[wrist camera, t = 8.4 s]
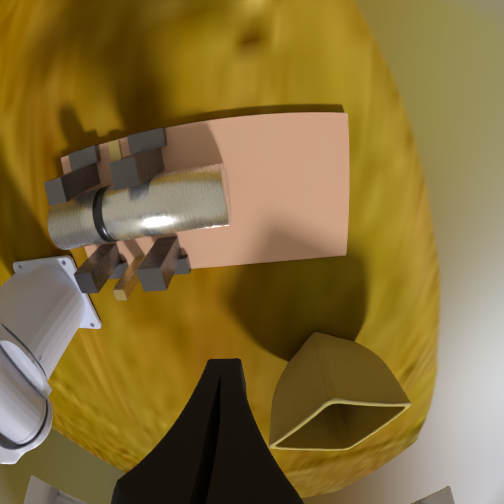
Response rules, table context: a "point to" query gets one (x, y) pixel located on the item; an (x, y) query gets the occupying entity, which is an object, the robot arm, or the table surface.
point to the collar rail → (123, 176)
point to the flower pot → (333, 396)
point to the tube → (144, 209)
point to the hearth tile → (259, 187)
